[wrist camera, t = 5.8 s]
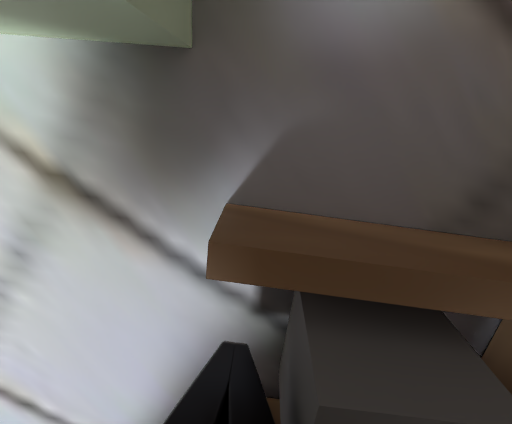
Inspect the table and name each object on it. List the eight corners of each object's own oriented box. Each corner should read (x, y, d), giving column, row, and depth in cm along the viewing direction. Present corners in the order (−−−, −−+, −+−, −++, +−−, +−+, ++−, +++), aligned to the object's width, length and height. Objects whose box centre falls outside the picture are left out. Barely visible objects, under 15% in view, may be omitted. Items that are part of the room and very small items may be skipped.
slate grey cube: (389, 384, 10) (458, 547, 6) (278, 371, 10) (284, 526, 6) (425, 292, 9) (543, 432, 5) (297, 276, 9) (319, 405, 5)
